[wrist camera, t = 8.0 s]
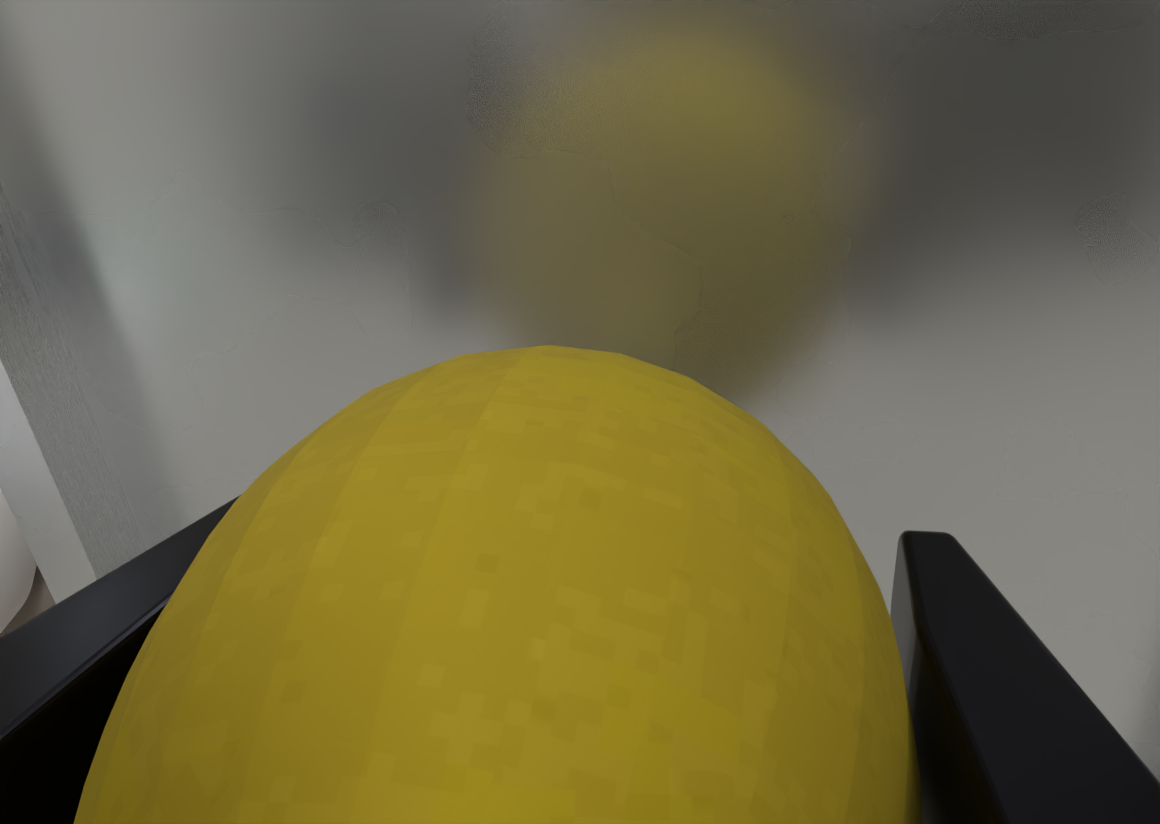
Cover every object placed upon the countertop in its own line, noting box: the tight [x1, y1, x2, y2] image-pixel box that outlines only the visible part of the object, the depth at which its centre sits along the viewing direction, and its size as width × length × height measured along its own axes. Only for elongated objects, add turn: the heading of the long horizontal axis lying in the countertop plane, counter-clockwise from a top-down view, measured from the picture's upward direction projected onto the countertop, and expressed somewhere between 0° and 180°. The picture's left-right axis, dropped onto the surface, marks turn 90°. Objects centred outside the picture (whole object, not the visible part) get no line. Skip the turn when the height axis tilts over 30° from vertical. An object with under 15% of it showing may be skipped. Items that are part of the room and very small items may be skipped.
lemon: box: [74, 345, 922, 824], centre depth 8 cm, size 6×6×8 cm
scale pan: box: [0, 0, 1160, 781], centre depth 13 cm, size 15×17×4 cm
